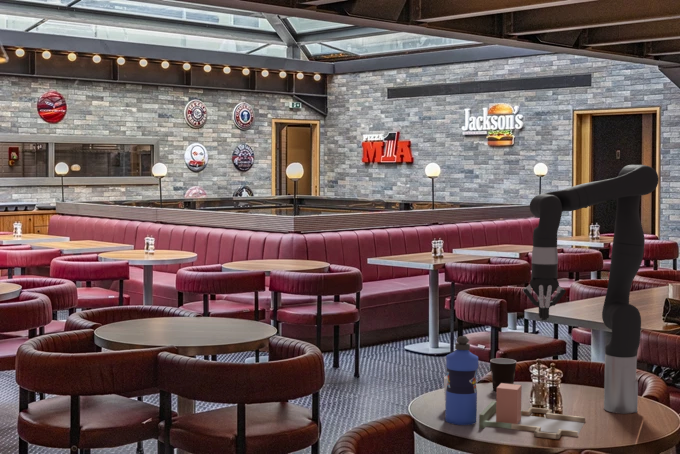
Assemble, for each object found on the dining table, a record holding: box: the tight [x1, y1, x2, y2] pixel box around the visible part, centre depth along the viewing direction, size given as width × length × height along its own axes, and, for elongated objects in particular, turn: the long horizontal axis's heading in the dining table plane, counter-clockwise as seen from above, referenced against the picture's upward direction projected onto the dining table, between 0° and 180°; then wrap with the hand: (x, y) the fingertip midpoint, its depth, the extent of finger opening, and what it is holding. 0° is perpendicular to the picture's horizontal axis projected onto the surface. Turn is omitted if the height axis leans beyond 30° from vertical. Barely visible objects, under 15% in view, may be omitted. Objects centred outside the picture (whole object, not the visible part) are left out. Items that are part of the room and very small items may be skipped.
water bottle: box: [444, 335, 479, 426], centre depth 258 cm, size 9×9×25 cm
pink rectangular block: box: [495, 383, 523, 424], centre depth 255 cm, size 6×6×10 cm
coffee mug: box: [489, 357, 517, 393], centre depth 295 cm, size 12×9×10 cm
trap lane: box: [478, 400, 586, 440], centre depth 253 cm, size 27×25×4 cm
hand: (543, 319), depth 262 cm, fingers closed
